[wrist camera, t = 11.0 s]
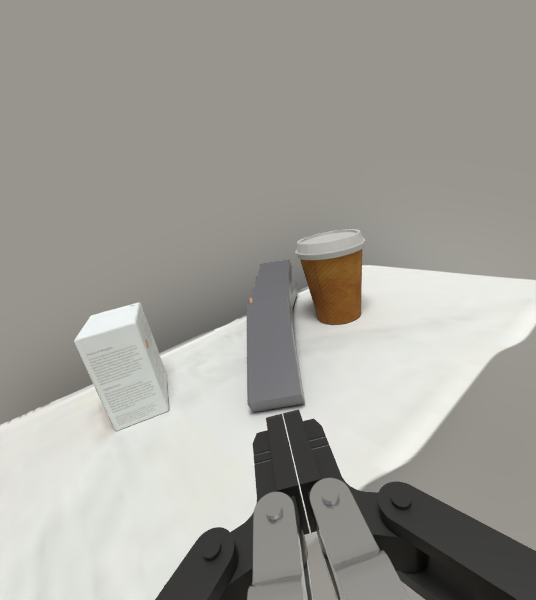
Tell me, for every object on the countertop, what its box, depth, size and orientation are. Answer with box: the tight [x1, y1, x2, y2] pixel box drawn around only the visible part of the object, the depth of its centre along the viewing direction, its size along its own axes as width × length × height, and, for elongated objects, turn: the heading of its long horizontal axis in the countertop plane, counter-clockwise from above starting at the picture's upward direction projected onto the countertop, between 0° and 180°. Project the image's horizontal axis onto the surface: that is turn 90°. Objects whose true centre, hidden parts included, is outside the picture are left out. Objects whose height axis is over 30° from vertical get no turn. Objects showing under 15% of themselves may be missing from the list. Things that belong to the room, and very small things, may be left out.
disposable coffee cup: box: [295, 229, 365, 324], centre depth 43 cm, size 10×10×12 cm
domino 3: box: [252, 283, 294, 333], centre depth 37 cm, size 2×5×13 cm
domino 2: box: [255, 271, 293, 312], centre depth 41 cm, size 2×5×13 cm
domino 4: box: [247, 296, 305, 412], centre depth 32 cm, size 2×5×13 cm
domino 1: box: [259, 260, 292, 281], centre depth 46 cm, size 2×5×13 cm
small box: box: [74, 303, 169, 431], centre depth 33 cm, size 8×6×10 cm
